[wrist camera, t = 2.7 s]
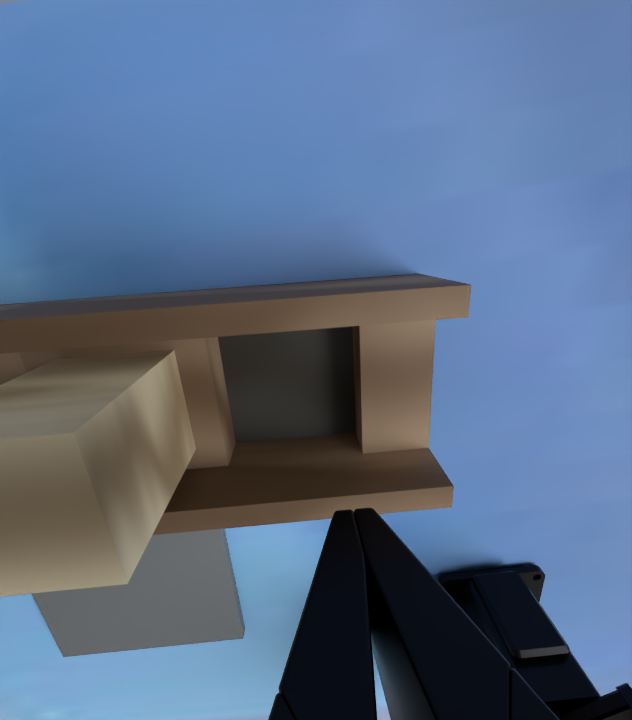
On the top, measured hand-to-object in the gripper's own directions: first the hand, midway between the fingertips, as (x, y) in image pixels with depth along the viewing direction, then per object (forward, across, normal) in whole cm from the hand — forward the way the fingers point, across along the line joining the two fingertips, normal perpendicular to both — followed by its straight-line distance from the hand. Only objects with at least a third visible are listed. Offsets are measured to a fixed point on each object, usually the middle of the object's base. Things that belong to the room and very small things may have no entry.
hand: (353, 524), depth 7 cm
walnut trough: (+9, +7, 0) cm, 11 cm away
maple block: (+7, +8, 0) cm, 11 cm away
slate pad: (+9, +12, +11) cm, 18 cm away
